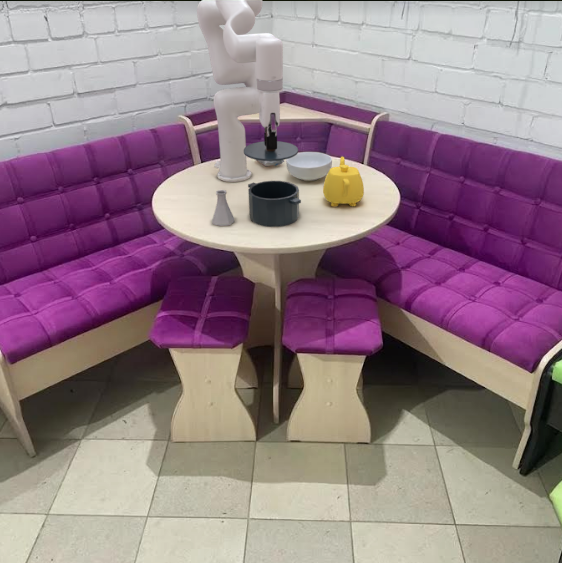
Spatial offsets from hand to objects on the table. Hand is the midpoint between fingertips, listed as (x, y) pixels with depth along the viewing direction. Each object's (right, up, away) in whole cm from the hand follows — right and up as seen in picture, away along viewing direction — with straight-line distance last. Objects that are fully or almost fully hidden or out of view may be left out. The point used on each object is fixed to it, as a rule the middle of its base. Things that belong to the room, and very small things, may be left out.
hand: (270, 146), depth 171 cm
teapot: (+24, -14, +19) cm, 33 cm away
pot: (+1, -20, +9) cm, 22 cm away
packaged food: (-2, +5, +50) cm, 50 cm away
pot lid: (0, -1, +1) cm, 1 cm away
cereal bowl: (+13, -3, +38) cm, 40 cm away
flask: (-15, -22, +6) cm, 27 cm away
